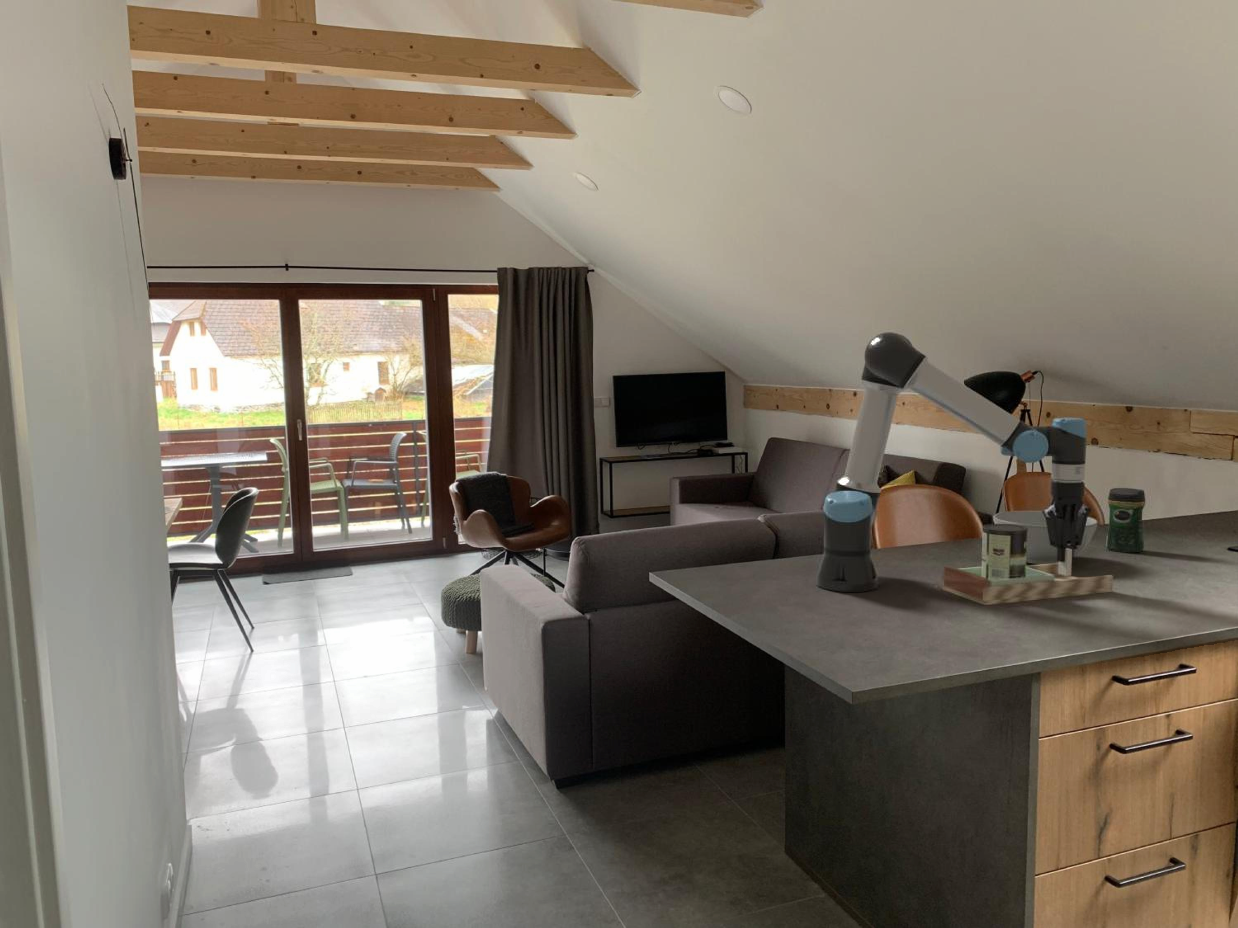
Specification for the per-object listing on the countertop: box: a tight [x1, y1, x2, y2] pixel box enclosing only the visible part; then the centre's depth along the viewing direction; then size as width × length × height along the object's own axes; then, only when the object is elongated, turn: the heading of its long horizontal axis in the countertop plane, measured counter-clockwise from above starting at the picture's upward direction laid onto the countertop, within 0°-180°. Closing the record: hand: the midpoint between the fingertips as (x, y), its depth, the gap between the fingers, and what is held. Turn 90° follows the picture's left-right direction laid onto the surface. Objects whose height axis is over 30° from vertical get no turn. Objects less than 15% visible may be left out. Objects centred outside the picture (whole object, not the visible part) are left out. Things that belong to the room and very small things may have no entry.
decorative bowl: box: [992, 510, 1099, 565], centre depth 261 cm, size 27×27×12 cm
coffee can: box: [981, 523, 1028, 580], centre depth 226 cm, size 10×10×14 cm
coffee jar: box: [1105, 487, 1147, 553], centre depth 273 cm, size 10×8×19 cm
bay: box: [941, 563, 1114, 606], centre depth 228 cm, size 37×16×6 cm, turn 107°
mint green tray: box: [959, 566, 1055, 587], centre depth 226 cm, size 18×14×4 cm
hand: (1064, 574), depth 231 cm, fingers closed
